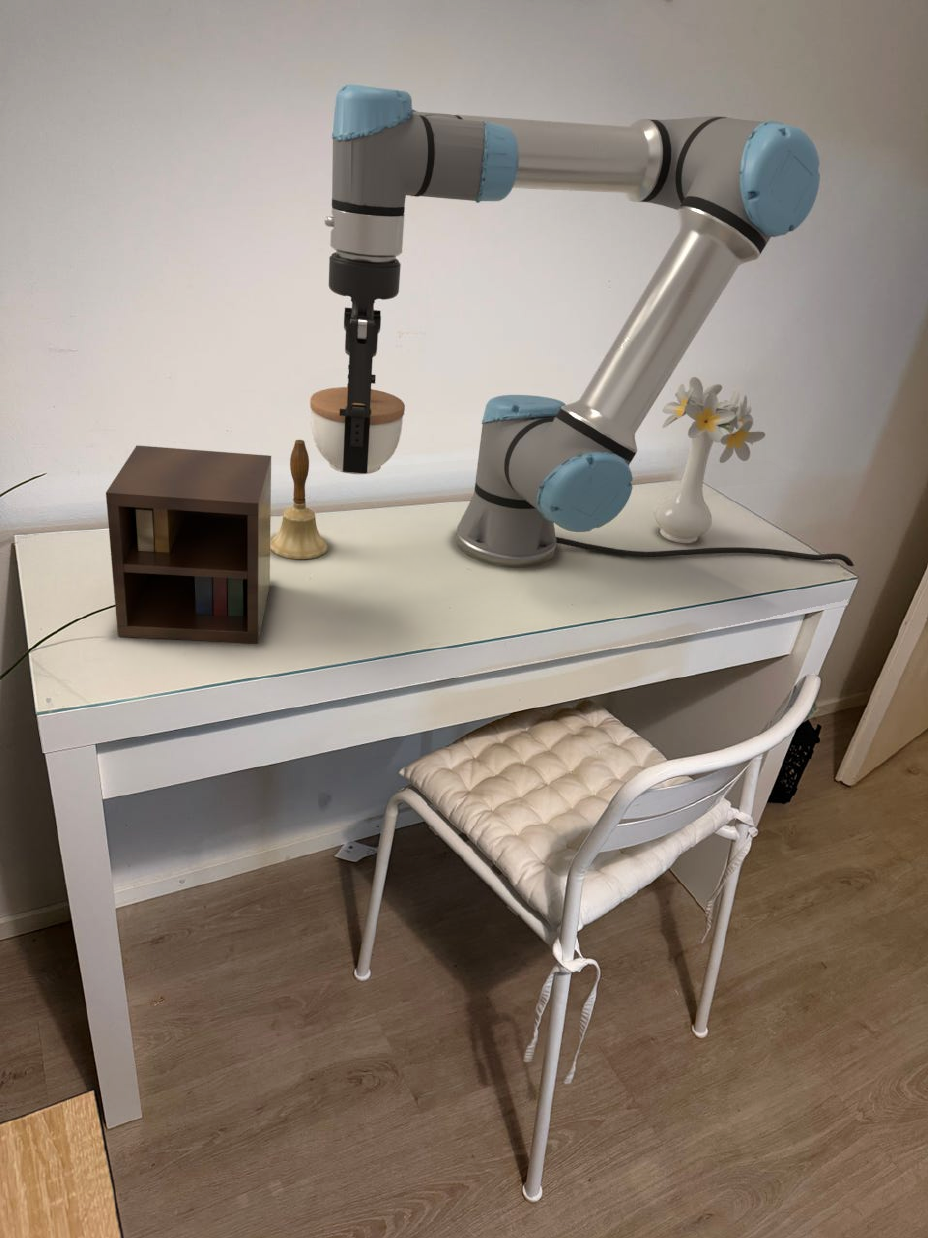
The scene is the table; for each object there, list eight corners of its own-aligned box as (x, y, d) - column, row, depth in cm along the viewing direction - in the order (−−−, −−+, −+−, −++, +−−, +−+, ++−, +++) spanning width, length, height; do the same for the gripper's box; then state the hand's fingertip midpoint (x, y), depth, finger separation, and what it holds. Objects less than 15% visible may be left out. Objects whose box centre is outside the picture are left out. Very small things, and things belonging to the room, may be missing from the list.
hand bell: (289, 564, 127) (292, 455, 119) (258, 541, 132) (259, 435, 124) (338, 552, 132) (344, 446, 124) (307, 530, 137) (310, 427, 129)
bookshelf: (269, 584, 121) (271, 455, 113) (258, 643, 109) (258, 503, 100) (144, 577, 119) (136, 445, 110) (117, 636, 106) (105, 492, 98)
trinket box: (386, 488, 103) (391, 406, 98) (295, 472, 104) (296, 390, 99) (410, 457, 112) (416, 381, 107) (326, 443, 113) (328, 367, 109)
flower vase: (691, 566, 142) (733, 409, 130) (617, 519, 155) (649, 372, 143) (750, 556, 148) (796, 405, 136) (674, 511, 162) (709, 370, 149)
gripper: (333, 235, 106) (327, 419, 117) (325, 270, 86) (318, 489, 97) (398, 241, 107) (386, 424, 118) (404, 278, 87) (389, 493, 98)
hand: (355, 453), depth 107 cm, fingers closed on trinket box, 11 cm apart
